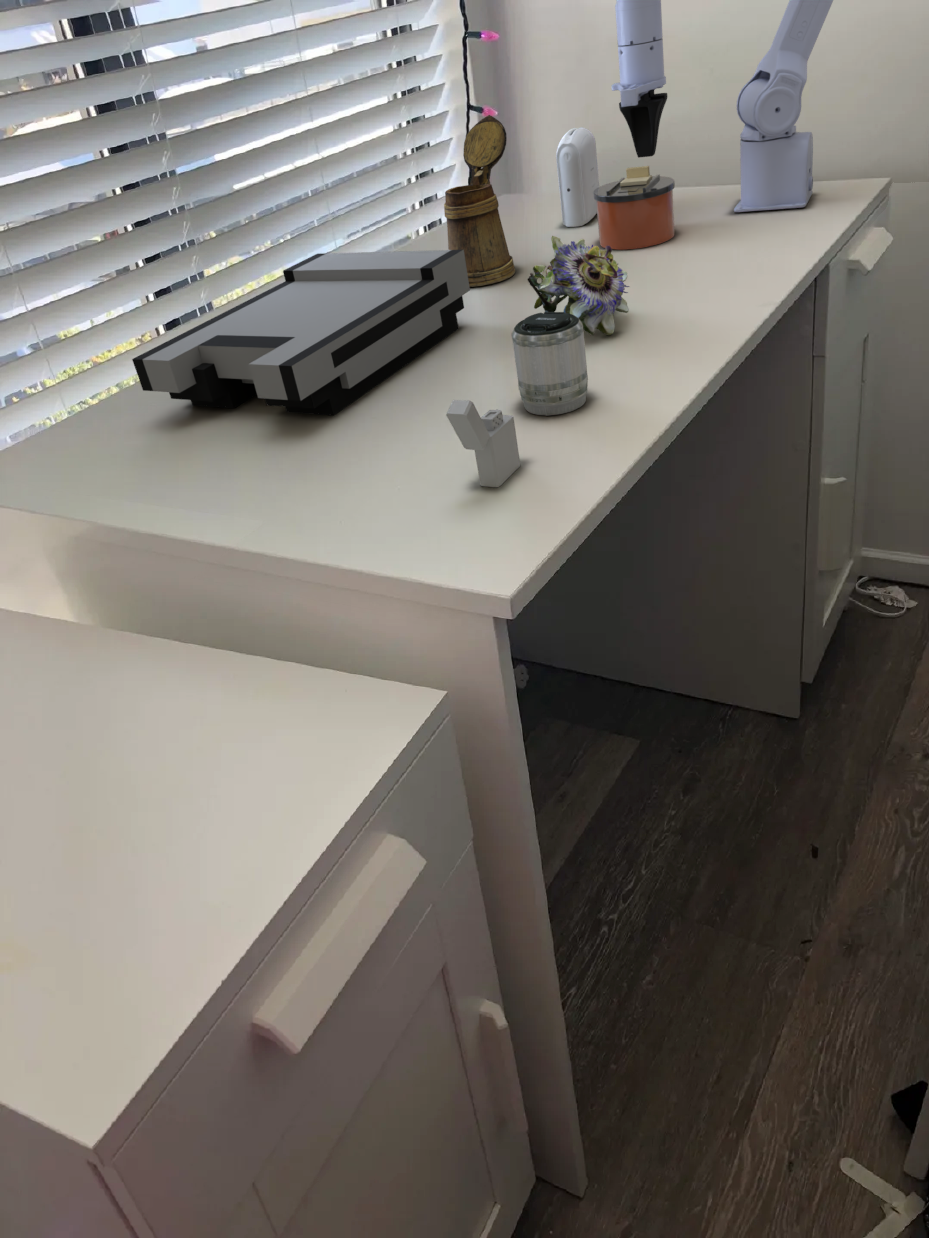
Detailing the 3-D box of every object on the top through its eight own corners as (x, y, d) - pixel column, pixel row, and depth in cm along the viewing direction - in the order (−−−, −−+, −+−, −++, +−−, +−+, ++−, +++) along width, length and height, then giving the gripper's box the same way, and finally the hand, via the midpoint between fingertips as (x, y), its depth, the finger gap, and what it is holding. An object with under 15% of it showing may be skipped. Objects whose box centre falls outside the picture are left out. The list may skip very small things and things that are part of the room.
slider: (652, 179, 133) (651, 165, 133) (646, 184, 131) (646, 170, 130) (626, 181, 135) (625, 168, 134) (620, 186, 133) (619, 173, 132)
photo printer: (588, 226, 146) (580, 134, 139) (559, 228, 148) (550, 137, 141) (604, 208, 154) (597, 120, 147) (577, 211, 156) (569, 124, 149)
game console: (154, 424, 104) (127, 347, 100) (332, 320, 126) (317, 253, 122) (310, 437, 94) (288, 353, 90) (474, 322, 116) (463, 249, 112)
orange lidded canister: (684, 226, 137) (682, 170, 134) (666, 247, 130) (663, 189, 126) (609, 231, 142) (605, 177, 138) (587, 252, 134) (582, 196, 130)
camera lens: (573, 419, 88) (563, 331, 84) (509, 415, 91) (497, 330, 87) (600, 391, 92) (593, 306, 88) (539, 389, 95) (529, 306, 91)
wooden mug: (538, 256, 137) (522, 110, 127) (499, 287, 127) (477, 132, 117) (480, 258, 140) (459, 118, 131) (437, 289, 131) (411, 139, 121)
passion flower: (610, 382, 108) (589, 315, 97) (522, 360, 113) (493, 293, 102) (652, 296, 110) (636, 221, 100) (563, 278, 115) (539, 204, 104)
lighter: (502, 463, 83) (488, 369, 78) (521, 464, 82) (507, 370, 77) (461, 503, 78) (443, 405, 73) (481, 505, 77) (464, 407, 72)
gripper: (624, 39, 136) (631, 147, 143) (594, 54, 125) (603, 170, 133) (676, 32, 133) (680, 142, 140) (649, 46, 122) (655, 165, 130)
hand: (646, 156), depth 136 cm, fingers closed
